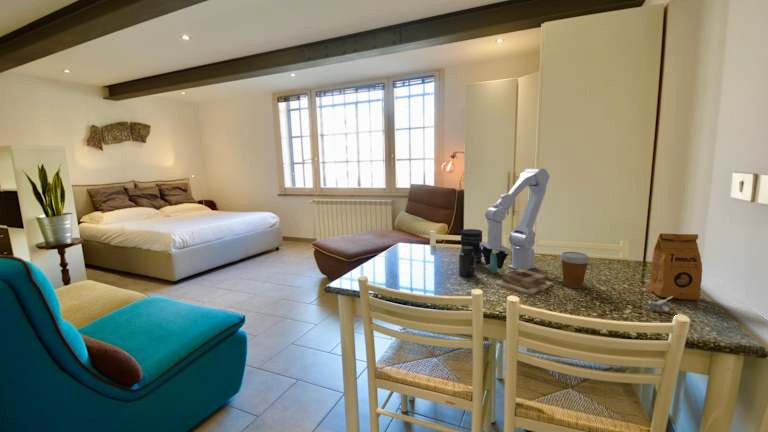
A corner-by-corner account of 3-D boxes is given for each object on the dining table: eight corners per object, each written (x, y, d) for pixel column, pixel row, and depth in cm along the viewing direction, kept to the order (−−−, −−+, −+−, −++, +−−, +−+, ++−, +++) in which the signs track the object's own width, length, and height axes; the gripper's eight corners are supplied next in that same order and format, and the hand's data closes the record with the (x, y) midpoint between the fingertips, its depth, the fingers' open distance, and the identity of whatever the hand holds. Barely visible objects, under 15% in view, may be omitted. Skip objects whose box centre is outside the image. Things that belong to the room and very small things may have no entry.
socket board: (521, 275, 140) (521, 266, 140) (553, 285, 129) (554, 275, 128) (495, 283, 132) (495, 274, 131) (527, 295, 120) (527, 284, 120)
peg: (493, 270, 148) (493, 252, 147) (499, 272, 146) (499, 254, 144) (488, 271, 147) (488, 253, 145) (494, 273, 144) (494, 255, 143)
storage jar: (484, 264, 156) (485, 233, 154) (462, 265, 156) (463, 233, 154) (478, 258, 166) (479, 228, 164) (458, 259, 166) (458, 229, 164)
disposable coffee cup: (576, 292, 122) (579, 259, 120) (553, 283, 130) (554, 253, 129) (593, 286, 126) (595, 255, 124) (569, 279, 135) (570, 250, 133)
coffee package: (703, 304, 110) (712, 237, 106) (657, 299, 114) (664, 235, 110) (688, 292, 119) (695, 231, 115) (645, 289, 123) (651, 229, 119)
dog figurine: (652, 315, 108) (640, 301, 108) (677, 302, 105) (665, 288, 106) (657, 320, 105) (645, 305, 105) (683, 306, 102) (670, 291, 103)
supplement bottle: (475, 277, 139) (476, 249, 137) (458, 277, 141) (459, 249, 139) (474, 272, 146) (475, 245, 144) (458, 271, 147) (458, 244, 145)
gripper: (475, 233, 148) (474, 264, 150) (502, 239, 135) (501, 272, 138) (486, 231, 151) (485, 261, 153) (513, 237, 139) (512, 269, 141)
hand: (493, 266), depth 146 cm, fingers open, 6 cm apart
